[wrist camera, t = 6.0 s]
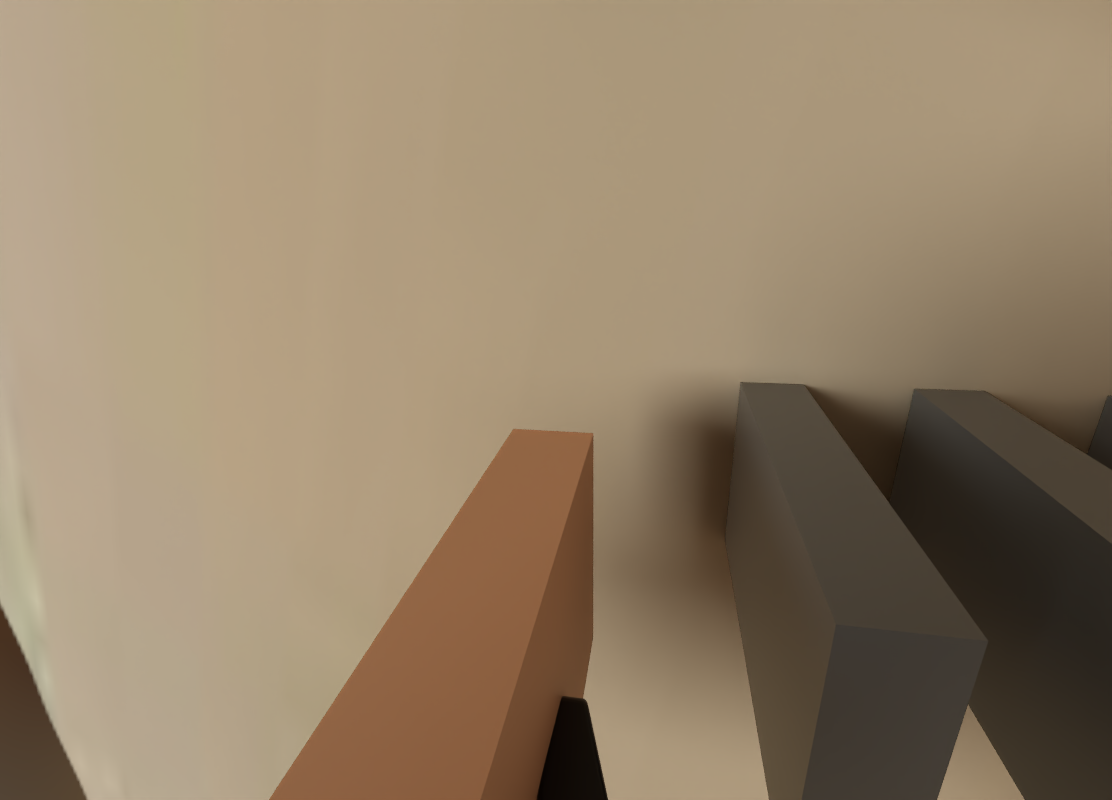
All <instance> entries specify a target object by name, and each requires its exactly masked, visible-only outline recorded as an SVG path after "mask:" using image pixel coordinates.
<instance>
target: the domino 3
mask: <svg viewBox="0 0 1112 800" xmlns="http://www.w3.org/2000/svg"><path fill="white" fill-rule="evenodd" d="M889 504H890V505H891V506H892V508H893V509H894V511H895V512H896V513H897V515H898V516H899V518H900V519H901V520H902V522H903V523H904V525H905V526H906V527H907V529H908V530H909V531H910V533H911V534H912V536H913V537H914V538H915V540H916V541H917V543H918V544H919V545H920V547H921V548H922V550H923V551H924V552H925V554H926V555H927V556H928V558H929V559H930V561H931V562H932V563H933V565H934V566H935V568H936V569H937V570H938V572H939V573H940V575H941V576H942V577H943V579H944V580H945V582H946V583H947V584H948V586H949V587H950V588H951V590H952V591H953V593H954V594H955V595H956V597H957V598H958V600H959V601H960V602H961V604H962V605H963V607H964V608H965V609H966V611H967V612H968V613H969V615H970V616H971V618H972V619H973V620H974V622H975V623H976V625H977V626H978V627H979V629H980V630H981V632H982V633H983V634H984V636H985V637H986V638H987V640H988V644H987V647H986V650H985V653H984V656H983V659H982V662H981V665H980V669H979V672H978V675H977V678H976V681H975V684H974V687H973V690H972V693H971V696H970V699H969V702H968V705H969V706H970V708H971V710H972V711H973V713H974V715H975V717H976V718H977V720H978V722H979V723H980V725H981V727H982V728H983V730H984V732H985V733H986V735H987V737H988V738H989V740H990V742H991V744H992V745H993V747H994V749H995V750H996V752H997V754H998V755H999V757H1000V759H1001V760H1002V762H1003V764H1004V765H1005V767H1006V769H1007V771H1008V772H1009V774H1010V776H1011V777H1012V779H1013V781H1014V782H1015V784H1016V786H1017V787H1018V789H1019V791H1020V792H1021V794H1022V796H1023V797H1024V799H1025V800H1112V470H1111V469H1109V468H1108V467H1106V466H1104V465H1103V464H1101V463H1100V462H1098V461H1096V460H1095V459H1093V458H1091V457H1090V456H1088V455H1087V454H1085V453H1083V452H1082V451H1080V450H1079V449H1077V448H1075V447H1074V446H1072V445H1071V444H1069V443H1067V442H1066V441H1064V440H1062V439H1061V438H1059V437H1058V436H1056V435H1054V434H1053V433H1051V432H1050V431H1048V430H1046V429H1045V428H1043V427H1042V426H1040V425H1038V424H1037V423H1035V422H1034V421H1032V420H1030V419H1029V418H1027V417H1025V416H1024V415H1022V414H1021V413H1019V412H1017V411H1016V410H1014V409H1013V408H1011V407H1009V406H1008V405H1006V404H1005V403H1003V402H1001V401H1000V400H998V399H996V398H995V397H993V396H992V395H990V394H988V393H987V392H985V391H965V390H937V389H914V392H913V397H912V402H911V406H910V411H909V415H908V420H907V424H906V429H905V433H904V438H903V443H902V447H901V452H900V456H899V461H898V465H897V470H896V475H895V479H894V484H893V488H892V493H891V497H890V502H889Z"/></svg>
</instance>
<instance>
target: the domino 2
mask: <svg viewBox="0 0 1112 800" xmlns="http://www.w3.org/2000/svg"><path fill="white" fill-rule="evenodd" d="M725 543H726V549H727V555H728V561H729V567H730V573H731V578H732V584H733V590H734V596H735V602H736V608H737V614H738V620H739V626H740V631H741V637H742V643H743V649H744V655H745V661H746V667H747V673H748V679H749V684H750V690H751V696H752V702H753V708H754V714H755V720H756V726H757V732H758V737H759V743H760V749H761V755H762V761H763V767H764V773H765V779H766V785H767V790H768V796H769V800H937V798H938V795H939V792H940V789H941V786H942V783H943V779H944V776H945V773H946V770H947V767H948V764H949V761H950V758H951V755H952V752H953V749H954V746H955V742H956V739H957V736H958V733H959V730H960V727H961V724H962V721H963V718H964V715H965V712H966V709H967V706H968V702H969V699H970V696H971V693H972V690H973V687H974V684H975V681H976V678H977V675H978V672H979V669H980V665H981V662H982V659H983V656H984V653H985V650H986V647H987V644H988V640H987V638H986V637H985V636H984V634H983V633H982V632H981V630H980V629H979V627H978V626H977V625H976V623H975V622H974V620H973V619H972V618H971V616H970V615H969V613H968V612H967V611H966V609H965V608H964V607H963V605H962V604H961V602H960V601H959V600H958V598H957V597H956V595H955V594H954V593H953V591H952V590H951V588H950V587H949V586H948V584H947V583H946V582H945V580H944V579H943V577H942V576H941V575H940V573H939V572H938V570H937V569H936V568H935V566H934V565H933V563H932V562H931V561H930V559H929V558H928V556H927V555H926V554H925V552H924V551H923V550H922V548H921V547H920V545H919V544H918V543H917V541H916V540H915V538H914V537H913V536H912V534H911V533H910V531H909V530H908V529H907V527H906V526H905V525H904V523H903V522H902V520H901V519H900V518H899V516H898V515H897V513H896V512H895V511H894V509H893V508H892V506H891V505H890V504H889V502H888V501H887V500H886V498H885V497H884V495H883V494H882V493H881V491H880V490H879V488H878V487H877V486H876V484H875V483H874V481H873V480H872V479H871V477H870V476H869V475H868V473H867V472H866V470H865V469H864V468H863V466H862V465H861V463H860V462H859V461H858V459H857V458H856V456H855V455H854V454H853V452H852V451H851V449H850V448H849V447H848V445H847V444H846V443H845V441H844V440H843V438H842V437H841V436H840V434H839V433H838V431H837V430H836V429H835V427H834V426H833V424H832V423H831V422H830V420H829V419H828V418H827V416H826V415H825V413H824V412H823V411H822V409H821V408H820V406H819V405H818V404H817V402H816V401H815V399H814V398H813V397H812V395H811V394H810V393H809V391H808V390H807V388H806V387H805V386H804V385H801V384H773V383H745V382H741V384H740V394H739V404H738V414H737V424H736V434H735V444H734V454H733V463H732V473H731V483H730V493H729V503H728V513H727V523H726V533H725Z"/></svg>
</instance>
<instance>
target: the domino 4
mask: <svg viewBox="0 0 1112 800" xmlns="http://www.w3.org/2000/svg"><path fill="white" fill-rule="evenodd" d="M1087 455H1088V456H1090V457H1091V458H1093V459H1095V460H1096V461H1098V462H1100V463H1101V464H1103V465H1104V466H1106V467H1108V468H1109V469H1111V470H1112V396H1108V397H1107V400H1106V403H1105V406H1104V409H1103V412H1102V414H1101V417H1100V420H1099V423H1098V426H1097V429H1096V432H1095V434H1094V437H1093V440H1092V443H1091V446H1090V449H1089V451H1088V454H1087Z"/></svg>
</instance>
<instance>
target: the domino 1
mask: <svg viewBox="0 0 1112 800" xmlns="http://www.w3.org/2000/svg"><path fill="white" fill-rule="evenodd" d="M592 640H593V433H578V432H559V431H541V430H522V429H513V430H512V432H511V433H510V435H509V437H508V438H507V440H506V441H505V443H504V444H503V446H502V447H501V449H500V450H499V452H498V453H497V455H496V456H495V458H494V459H493V461H492V462H491V464H490V465H489V467H488V468H487V470H486V471H485V473H484V474H483V476H482V477H481V479H480V481H479V482H478V484H477V485H476V487H475V488H474V490H473V491H472V493H471V494H470V496H469V497H468V499H467V500H466V502H465V503H464V505H463V506H462V508H461V509H460V511H459V512H458V514H457V515H456V517H455V518H454V520H453V521H452V523H451V525H450V526H449V528H448V529H447V531H446V532H445V534H444V535H443V537H442V538H441V540H440V541H439V543H438V544H437V546H436V547H435V549H434V550H433V552H432V553H431V555H430V556H429V558H428V559H427V561H426V562H425V564H424V565H423V567H422V569H421V570H420V572H419V573H418V575H417V576H416V578H415V579H414V581H413V582H412V584H411V585H410V587H409V588H408V590H407V591H406V593H405V594H404V596H403V597H402V599H401V600H400V602H399V603H398V605H397V606H396V608H395V609H394V611H393V612H392V614H391V616H390V617H389V619H388V620H387V622H386V623H385V625H384V626H383V628H382V629H381V631H380V632H379V634H378V635H377V637H376V638H375V640H374V641H373V643H372V644H371V646H370V647H369V649H368V650H367V652H366V653H365V655H364V656H363V658H362V660H361V661H360V663H359V664H358V666H357V667H356V669H355V670H354V672H353V673H352V675H351V676H350V678H349V679H348V681H347V682H346V684H345V685H344V687H343V688H342V690H341V691H340V693H339V694H338V696H337V697H336V699H335V700H334V702H333V704H332V705H331V707H330V708H329V710H328V711H327V713H326V714H325V716H324V717H323V719H322V720H321V722H320V723H319V725H318V726H317V728H316V729H315V731H314V732H313V734H312V735H311V737H310V738H309V740H308V741H307V743H306V744H305V746H304V748H303V749H302V751H301V752H300V754H299V755H298V757H297V758H296V760H295V761H294V763H293V764H292V766H291V767H290V769H289V770H288V772H287V773H286V775H285V776H284V778H283V779H282V781H281V782H280V784H279V785H278V787H277V788H276V790H275V792H274V793H273V795H272V796H271V798H270V799H269V800H537V794H538V789H539V785H540V780H541V776H542V772H543V768H544V764H545V760H546V756H547V752H548V748H549V744H550V740H551V736H552V732H553V728H554V724H555V720H556V716H557V712H558V708H559V705H560V701H561V698H562V696H569V697H576V698H583V695H584V689H585V683H586V677H587V671H588V665H589V659H590V653H591V647H592Z"/></svg>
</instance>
